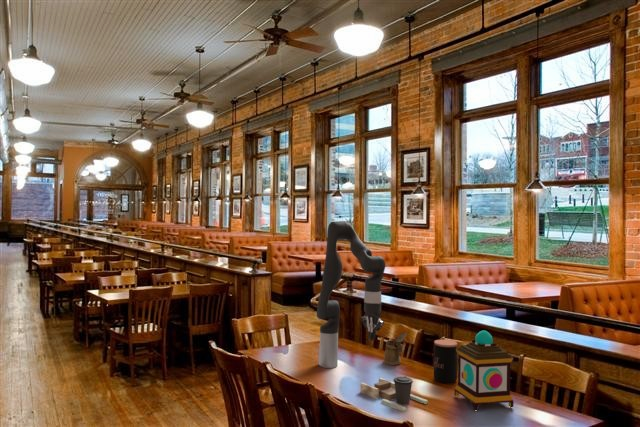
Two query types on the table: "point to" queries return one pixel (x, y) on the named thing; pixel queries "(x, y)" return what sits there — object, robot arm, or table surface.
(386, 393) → the pusher
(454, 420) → the table surface
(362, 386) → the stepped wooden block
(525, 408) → the table surface
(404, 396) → the coffee cup
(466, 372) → the decorative lantern
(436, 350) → the coffee jar
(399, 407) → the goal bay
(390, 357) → the brown sack with scoop
